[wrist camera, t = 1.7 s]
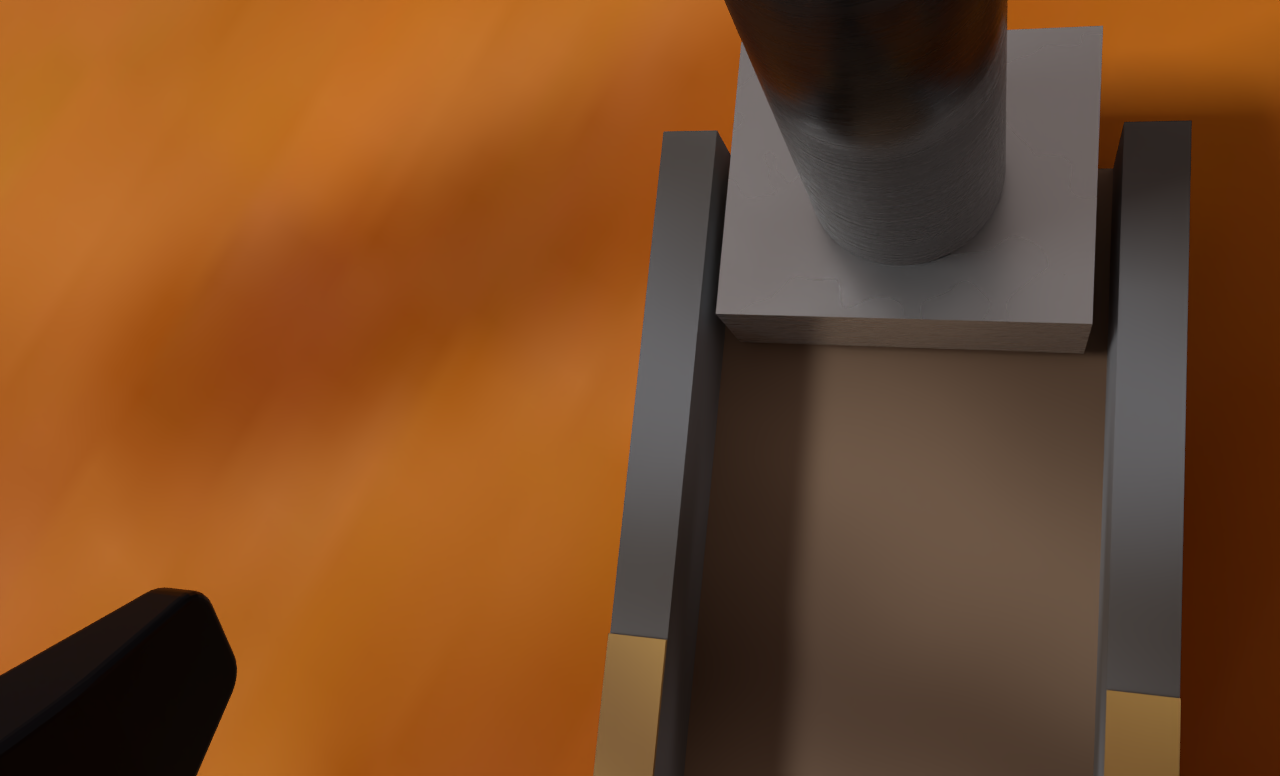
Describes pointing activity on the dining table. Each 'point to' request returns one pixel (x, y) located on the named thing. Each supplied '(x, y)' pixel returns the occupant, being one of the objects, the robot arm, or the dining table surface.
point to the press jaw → (911, 177)
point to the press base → (905, 522)
